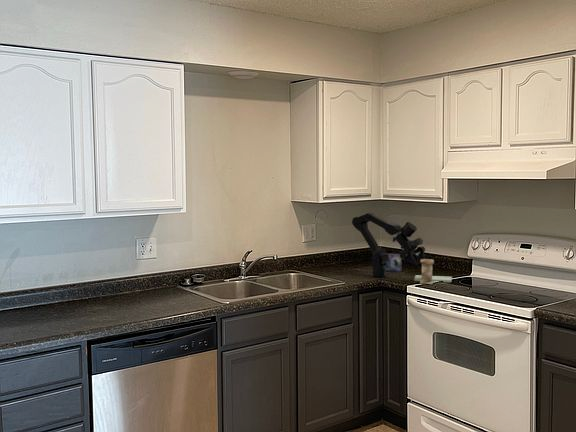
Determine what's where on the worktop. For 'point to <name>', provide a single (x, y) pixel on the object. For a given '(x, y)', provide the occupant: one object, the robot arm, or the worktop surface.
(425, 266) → the tan turned knob
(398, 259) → the small box
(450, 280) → the board
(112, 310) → the worktop surface
